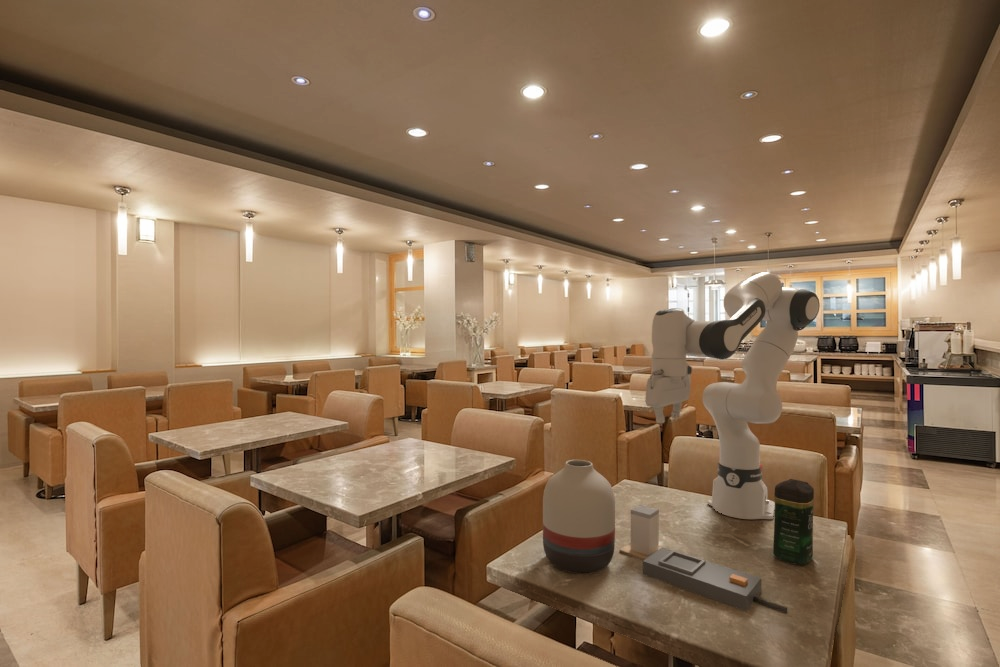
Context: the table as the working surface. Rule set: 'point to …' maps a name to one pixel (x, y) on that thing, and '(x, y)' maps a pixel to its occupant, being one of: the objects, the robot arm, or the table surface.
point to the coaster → (634, 552)
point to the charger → (644, 529)
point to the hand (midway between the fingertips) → (668, 420)
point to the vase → (579, 519)
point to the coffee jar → (793, 522)
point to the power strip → (706, 579)
